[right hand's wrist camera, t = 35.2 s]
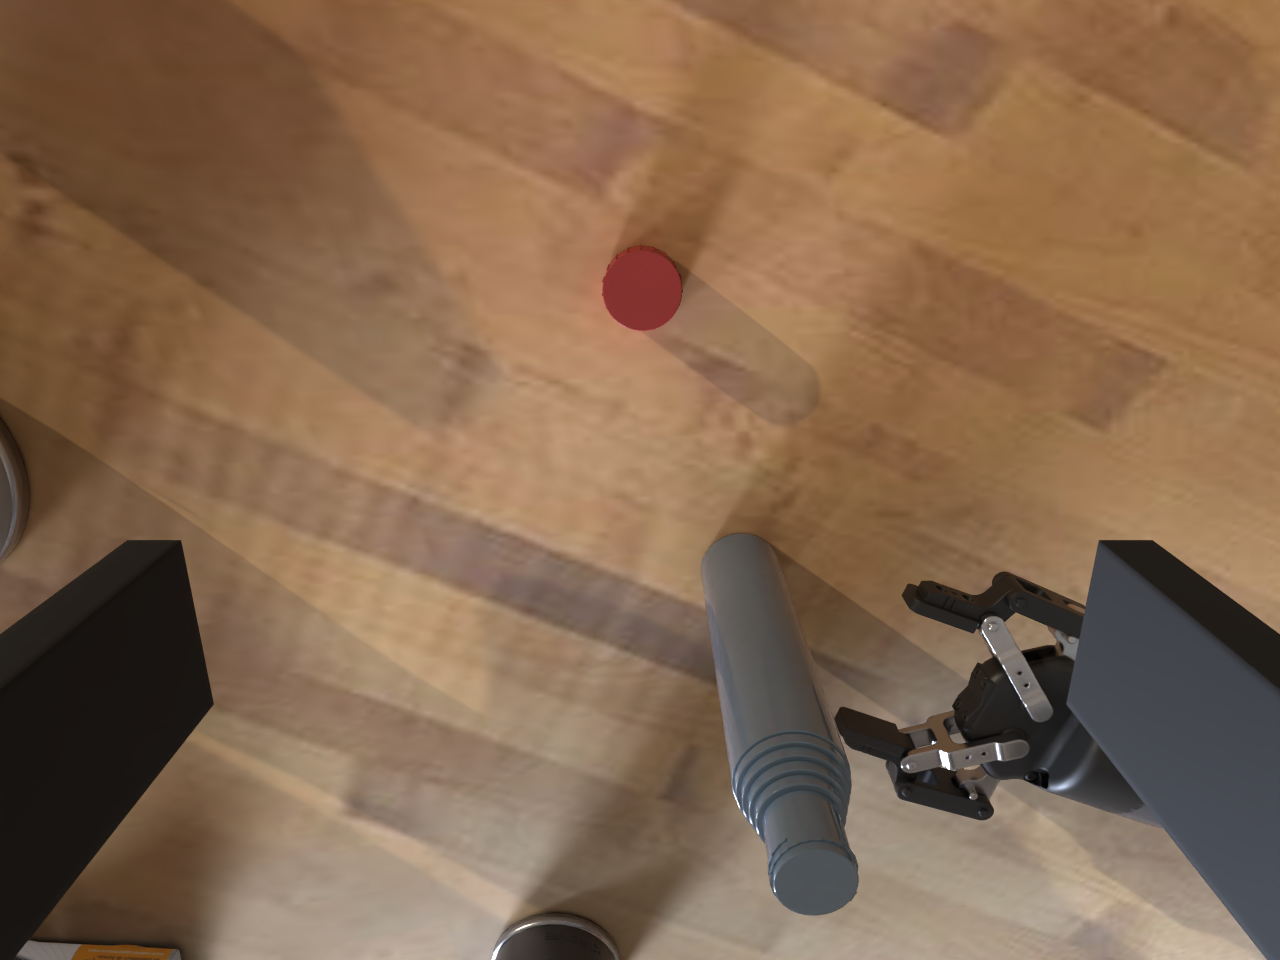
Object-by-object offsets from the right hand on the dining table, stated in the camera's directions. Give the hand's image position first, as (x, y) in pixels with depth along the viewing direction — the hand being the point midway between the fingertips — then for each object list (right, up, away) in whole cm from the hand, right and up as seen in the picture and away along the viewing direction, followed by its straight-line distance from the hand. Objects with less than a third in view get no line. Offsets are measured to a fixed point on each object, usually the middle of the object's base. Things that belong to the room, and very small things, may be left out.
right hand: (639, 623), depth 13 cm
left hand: (+13, -8, +35) cm, 38 cm away
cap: (0, +12, +33) cm, 35 cm away
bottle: (+6, -3, +41) cm, 41 cm away
